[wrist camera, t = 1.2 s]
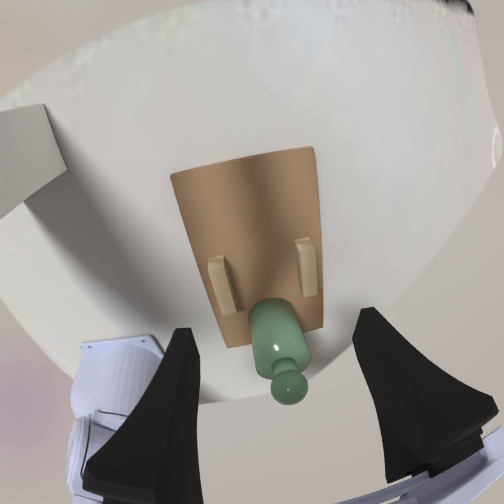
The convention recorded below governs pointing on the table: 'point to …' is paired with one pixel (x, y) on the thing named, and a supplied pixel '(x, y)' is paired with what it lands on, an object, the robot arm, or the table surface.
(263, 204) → the rest board
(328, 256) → the table surface
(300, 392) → the bottle
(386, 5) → the table surface
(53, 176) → the milk
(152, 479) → the robot arm
